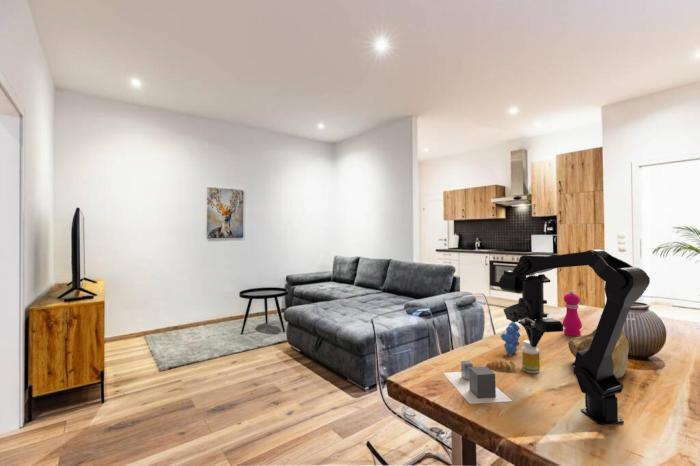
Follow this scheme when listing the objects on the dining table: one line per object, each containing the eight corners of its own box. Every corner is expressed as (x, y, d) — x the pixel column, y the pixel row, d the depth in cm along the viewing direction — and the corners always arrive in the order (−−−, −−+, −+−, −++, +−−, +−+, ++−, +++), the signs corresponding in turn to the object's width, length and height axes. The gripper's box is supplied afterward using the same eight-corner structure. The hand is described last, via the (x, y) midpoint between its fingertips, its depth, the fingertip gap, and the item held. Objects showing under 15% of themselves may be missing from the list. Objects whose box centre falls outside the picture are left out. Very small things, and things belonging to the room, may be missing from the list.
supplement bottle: (542, 374, 111) (541, 344, 111) (524, 373, 112) (524, 343, 112) (536, 367, 116) (536, 339, 116) (519, 366, 117) (519, 338, 117)
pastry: (487, 374, 112) (487, 363, 112) (484, 366, 118) (484, 356, 118) (518, 377, 110) (517, 365, 110) (513, 369, 116) (513, 357, 116)
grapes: (506, 347, 137) (505, 317, 137) (524, 351, 132) (523, 320, 132) (495, 355, 128) (494, 323, 128) (514, 359, 124) (513, 327, 124)
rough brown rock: (582, 355, 129) (577, 316, 129) (638, 365, 115) (632, 321, 116) (556, 374, 114) (551, 329, 115) (616, 387, 101) (610, 337, 102)
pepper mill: (559, 333, 153) (558, 289, 153) (569, 331, 156) (568, 288, 156) (575, 337, 147) (574, 292, 147) (585, 335, 150) (584, 290, 150)
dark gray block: (495, 397, 94) (495, 373, 94) (477, 398, 93) (477, 374, 93) (486, 388, 99) (486, 366, 99) (469, 389, 98) (469, 367, 98)
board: (512, 405, 92) (512, 401, 92) (469, 408, 91) (469, 403, 91) (478, 374, 112) (478, 370, 112) (443, 376, 111) (443, 372, 111)
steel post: (473, 379, 105) (472, 364, 105) (464, 380, 105) (464, 364, 105) (469, 376, 107) (469, 360, 107) (461, 376, 107) (461, 361, 107)
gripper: (492, 291, 111) (492, 338, 111) (526, 303, 93) (527, 359, 93) (524, 290, 112) (524, 336, 112) (564, 301, 93) (565, 357, 94)
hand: (533, 346), depth 103 cm, fingers closed
